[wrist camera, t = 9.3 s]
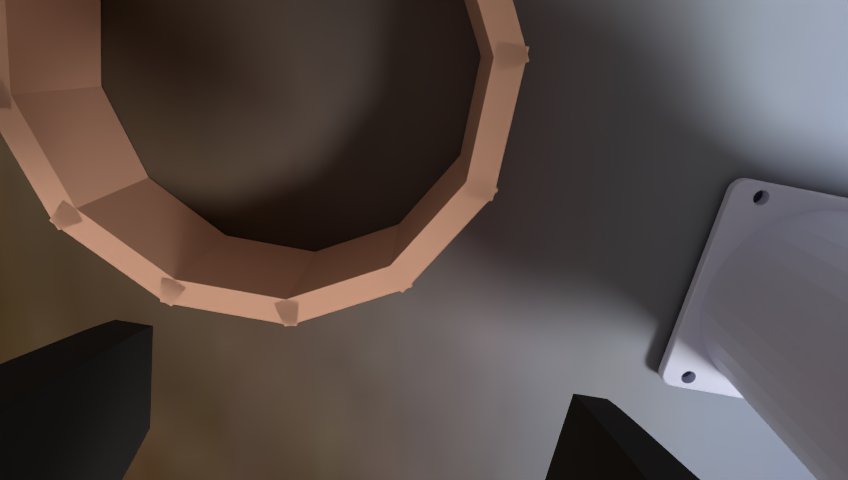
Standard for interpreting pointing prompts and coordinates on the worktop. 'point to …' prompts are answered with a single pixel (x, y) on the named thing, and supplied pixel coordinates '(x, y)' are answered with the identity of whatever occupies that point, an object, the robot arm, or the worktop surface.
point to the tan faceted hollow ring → (184, 229)
